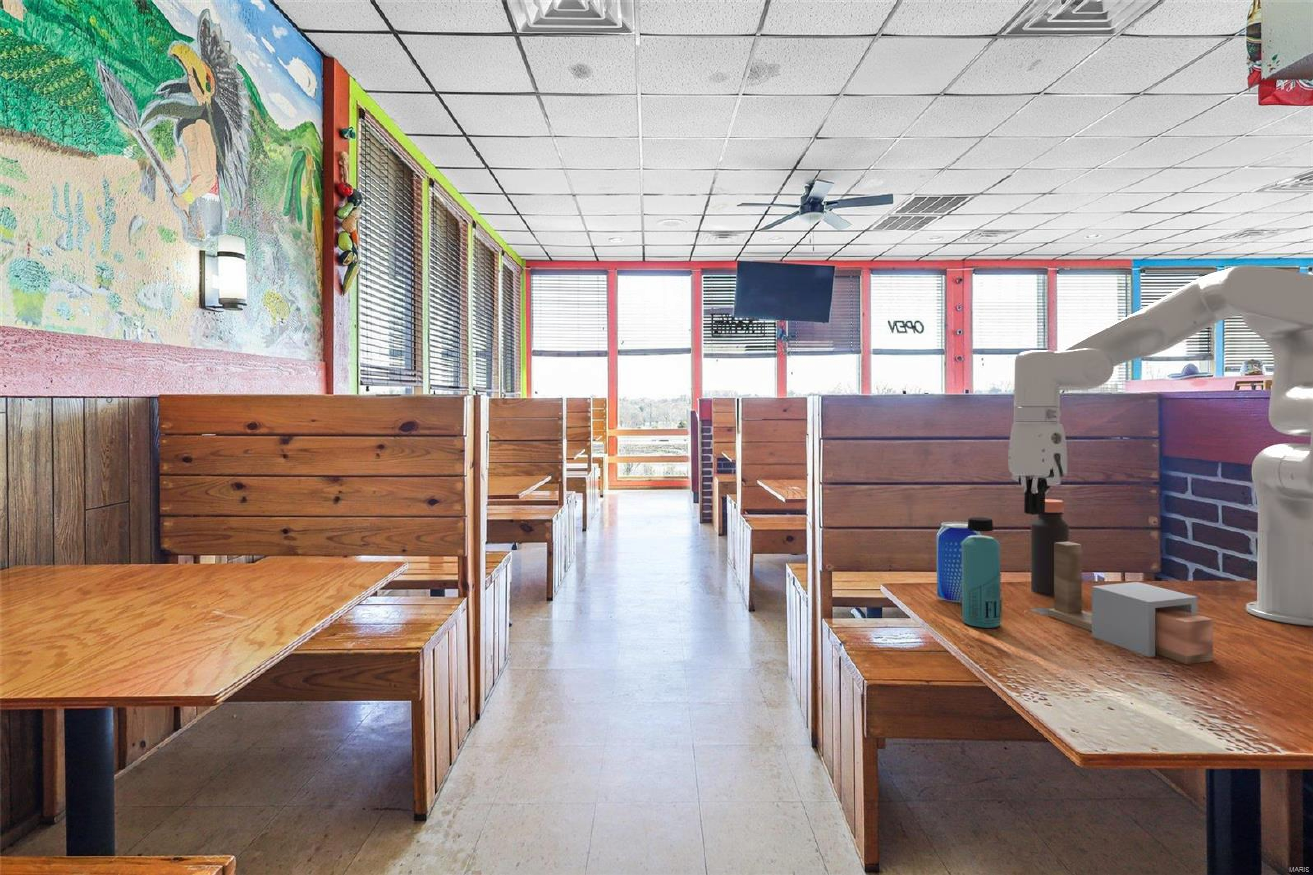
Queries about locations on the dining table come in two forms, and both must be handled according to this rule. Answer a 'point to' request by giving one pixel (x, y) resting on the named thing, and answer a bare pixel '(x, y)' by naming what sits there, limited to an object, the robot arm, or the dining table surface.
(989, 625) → the beverage bottle
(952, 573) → the beer can
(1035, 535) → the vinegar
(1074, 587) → the sled
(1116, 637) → the tunnel
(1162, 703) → the dining table surface
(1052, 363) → the robot arm
